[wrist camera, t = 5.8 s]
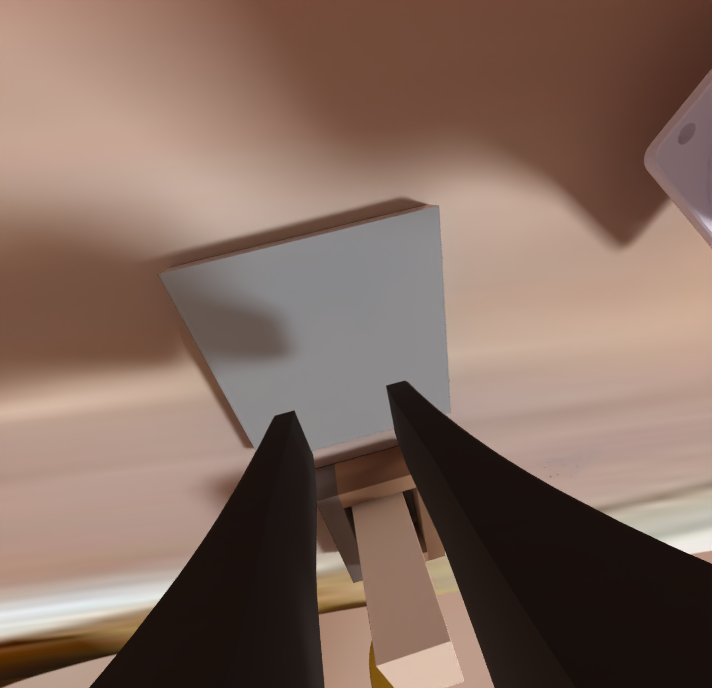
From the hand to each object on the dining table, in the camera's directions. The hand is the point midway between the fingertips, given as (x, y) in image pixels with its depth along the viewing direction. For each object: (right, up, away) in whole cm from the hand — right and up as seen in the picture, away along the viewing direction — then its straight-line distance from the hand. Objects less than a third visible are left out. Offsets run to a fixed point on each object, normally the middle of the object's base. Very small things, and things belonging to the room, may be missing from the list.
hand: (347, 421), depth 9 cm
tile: (-1, +2, +4) cm, 5 cm away
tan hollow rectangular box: (+2, -8, +10) cm, 13 cm away
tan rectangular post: (+2, -8, +10) cm, 13 cm away
